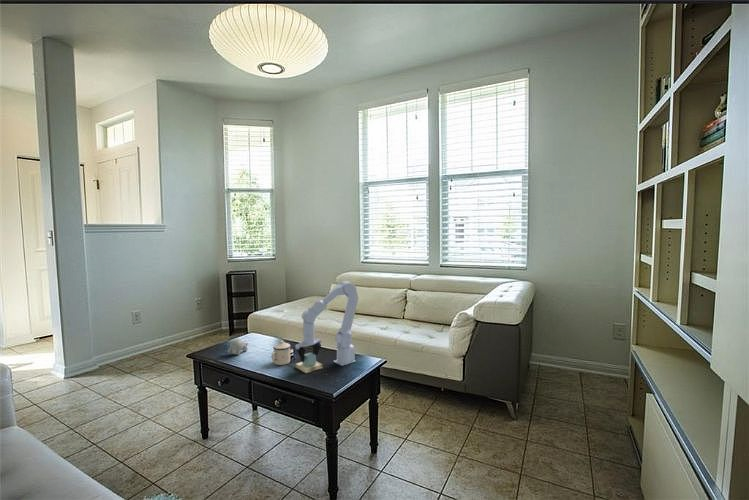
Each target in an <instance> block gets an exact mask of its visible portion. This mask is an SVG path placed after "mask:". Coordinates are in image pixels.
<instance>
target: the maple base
mask: <svg viewBox="0 0 749 500" xmlns="http://www.w3.org/2000/svg"><path fill="white" fill-rule="evenodd" d="M295 368H296V369H297V370H299V371H301V372H303V373H304V374H308V373H311V372H314V371H318V370H320V369H321V370H322V369H323V363H321V362H319V361H317V360H316V365H313V366H309V367H307V366H305V365H303V362H302V361H300V362H297V363H295Z"/></svg>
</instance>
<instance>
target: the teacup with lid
mask: <svg viewBox="0 0 749 500" xmlns="http://www.w3.org/2000/svg"><path fill="white" fill-rule="evenodd" d="M284 341H285V340H280V341H279V342H278V343H276V344H274V346H273V347H272V348H273V352H272V353H271V360H272V361H273V363H274V364H275V365H277V366H283V365H287V364H290V362H291V348H292V347H291V344H290V343H287V342H284Z"/></svg>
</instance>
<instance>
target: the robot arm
mask: <svg viewBox="0 0 749 500" xmlns="http://www.w3.org/2000/svg"><path fill="white" fill-rule="evenodd" d="M344 295H345V296H346V298H347V303H346V307H345V312H344V315H343V320H342V323H341V327H340V328H339V329H338V332H337V333H336V334H335V338H334V339H335V342H336V360H335V359H334V360H333V362H334V363H335V364H337V365H340V366H346V365H349V364H352V363H356V360H355V359H356V358H355V357H356V356H355V355H356V350H355V346H354V345H353V344H352V342H353V341H352V326H353V322H354V317H355V314H356V310H357V305H358V301H359V295H358V292H357V287H356V285H355V284H354V283H353V282H349V281H348V280H342V281H340V282H339V283H338V284H336V286H335V287H334V288H333V289H332V290H331V291H330V292H329V293H328V294H327V295H325V297H324V298H323V299H319V300H316V301H314V304H312V305H311V307H308V308H307V310H304V311H303V312H302V315H301V319H302V323H303V324H302V342H300V343H297V344H295V350H296V351H297V353H298V356H299V360H300V362H304V354H306V349H305V348H307V347H310V346H312V351H313V352H312V353H313V354H315V355H316V359H318V354H319V351H320V349H321V347H322V342H323V341H322V339H320V338H317V339H315V321H316V319H317V317H318V316H320V314H321V313H323V311H325V310H326V308H327V305H328V304H329V303H330V302H331V301H333V300H334V299H335V298H337V297H338V296H344Z"/></svg>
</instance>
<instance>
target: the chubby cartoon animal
mask: <svg viewBox="0 0 749 500" xmlns="http://www.w3.org/2000/svg"><path fill="white" fill-rule="evenodd" d="M248 349H249V346H248V342H245V341H244V342H243V341H242V340H241V339H240V338H239V339H237V338H235V339H233V340H232V341H231V342H230V344H229V348H228V349H227V353H228V354H232V355H235V356H239V355H240V354H241V351H243V352H244V353H245V352H247V351H248Z"/></svg>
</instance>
